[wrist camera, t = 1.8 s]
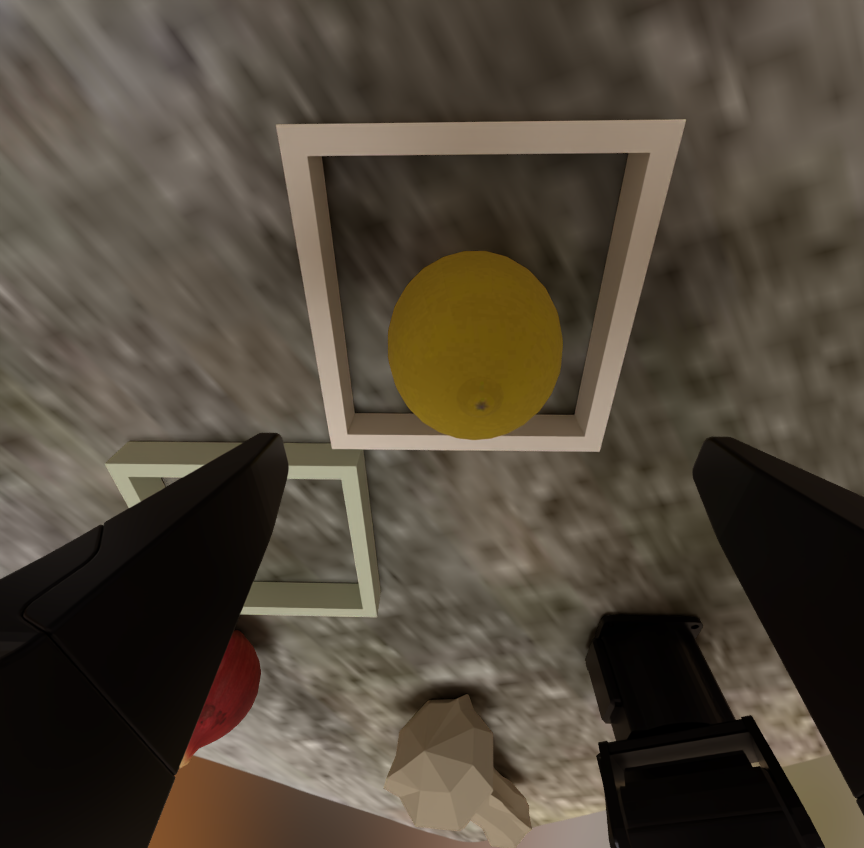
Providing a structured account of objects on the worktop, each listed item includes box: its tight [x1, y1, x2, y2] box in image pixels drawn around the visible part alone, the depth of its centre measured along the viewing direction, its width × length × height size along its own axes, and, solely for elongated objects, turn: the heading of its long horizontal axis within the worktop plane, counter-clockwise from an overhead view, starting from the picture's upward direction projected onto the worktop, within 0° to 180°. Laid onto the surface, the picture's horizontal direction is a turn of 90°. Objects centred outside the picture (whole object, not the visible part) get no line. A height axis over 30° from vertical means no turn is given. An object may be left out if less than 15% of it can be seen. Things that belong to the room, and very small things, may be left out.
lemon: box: [388, 251, 563, 440], centre depth 14 cm, size 6×6×8 cm
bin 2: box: [276, 119, 686, 452], centre depth 16 cm, size 12×12×2 cm
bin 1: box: [105, 442, 381, 617], centre depth 24 cm, size 12×12×2 cm
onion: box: [179, 630, 261, 768], centre depth 27 cm, size 6×6×8 cm
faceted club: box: [384, 694, 532, 848], centre depth 38 cm, size 9×8×25 cm
